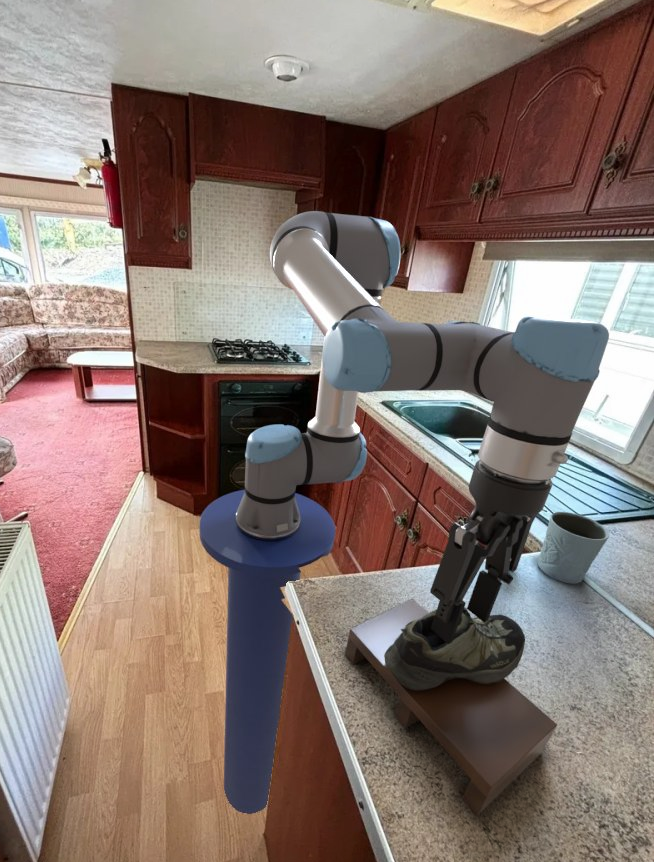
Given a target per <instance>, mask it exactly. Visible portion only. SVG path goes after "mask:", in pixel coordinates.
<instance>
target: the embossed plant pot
mask: <svg viewBox="0 0 654 862" xmlns="http://www.w3.org/2000/svg"><path fill="white" fill-rule="evenodd" d="M609 538H610V532H609V531H608V529H606V527H604V526H603V525H602V524H601V523H600V522H598V521H595V520H594V519H592V518H589V517H587V516H584V515H582V514H578V513H574V512H569V511H556V512H553V513H552V514H550V516H549V520H548V525H547V529H546V532H545V537H544V539H543V542H542V547H541V550H540V554H539V557H538V558H537V565H538V567H539V569H540V570H541V571H542V572H543V573H545V575H547V576H549V577H550V578H552V579H555V580H557V581H559V582H562V583H566V584H575V585H576V584H579V583H581V582H582V581H583V580H584V578H585V577H586V574H587V573H588V571H589V570H590V568H591V566H592V565H593V562H594V561H595V560H596V558H597V556H598V555H599V553H600V552H601V550H602V548H603V547H604V546H605V544H606V542H607V541H608V539H609Z"/></svg>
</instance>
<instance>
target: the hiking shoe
mask: <svg viewBox="0 0 654 862" xmlns="http://www.w3.org/2000/svg"><path fill="white" fill-rule="evenodd" d="M436 611H437V608H436V609H434V610H432V611H430V612H429V614H427V615H425V616H423V617H422V618H421V619H419V620H414V621H411V622H410V623H408V624H407V625H406V627H405V628H403V629H401V631H402V633H401V634H400V636H399V637H398V638H397V639H396V640H395V642H394V644H393V645H391V646H390V647H389V648H388V649H387V651H386V652H385V655H384V657H385V663H386V666H387V668H388V670H389V672H390V673H391V674H392V676H393V677H394V678H395V679H396V680H397V681H398V682H399V683H400V684H402V685H403V686H405V687H407V688H409V689H412V690H417V691H423V690H427V689H431V688H435V687H437V686H438V685H440V684H442V683H443V682H445V681H447V680H450V679H455V678H463V679H467V680H470V681H474V682H477V683H480V684H490V683H496V682H500V681H502V680H503V679H506V678H508V676H510V675H511V674H512V673H513V672H514V671H515V670H516V668H518V666H519V663H520V662H521V659H522V657H523V654H524V650H525V644H526V636H525V633H524V631H523V629H522V627H521V626H520V625H519V624H518V622H517V621H515V620H514V619H512V618H510V617H509V616H506V615H504V614H492V615H491V614H490V616H489V619H488V621H486V622H485V623H484V622H483V621H482V620H480V619H479V618H478V617H477V616H475V617H473V618H472V616H471V614H470V611H469V610H468V609H467V607H464V610H463V613H462V616H461V618H460V621H459V624H458V627H457V630H456V633H455V636H454V639H453V641H452V643H450V644H447V643H446V642H445V641H444V640H443V639H442V638H441V637H440V636H439V635H437V634H436V633H435V632H434V631H433V630H432V629H431V627H432V624H433V620H434V617H435V614H436Z"/></svg>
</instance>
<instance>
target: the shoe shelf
mask: <svg viewBox="0 0 654 862" xmlns="http://www.w3.org/2000/svg"><path fill="white" fill-rule="evenodd" d="M429 613H430V612H429V611H428V610H427V609H425V608H424V607H423V606H422V605H421V604H420V603H419V602H417V601H416V600H415V599H414V598H410V599H409V600H407V601H405V602H402V603H400V604H398V605H396V606H394V607H392V608H390V609H388V610H385V611H384V612H381V613H379V614H378V615H375V616H373V617H371V618H370V619H366V621H363V622H361V623H359V624H357V625H355V626H352V627H351V628H349V632H348V638H347V643H346V648H345V653H344V657H346V659H347V660H348V661H349V662H350V664H351V665H352V666H354V665H356V664H358V663H360V662H362V661H363V660H365V659H366V660H367V662H369V664H371V666H372V667H374V669H375V671H376V672H377V673H378V674H379V675H380V676H381V677H382V678H383V680H384V681H385V682H386V683H387V685H389V686H390V688H391V689H392V690H393V691H394V692H395V693H396V694H397V695H398V697H399V701H398V705H397V706H396V707H397V708H396V711H395V714H394V717H395V719H396V720H397V721H398V722H399V723H400V725H401V726H402V727H403V728H404V730H405V729H406V730H407V729H408V728H409V727H410V726H412V725H413V724H415V723H416V722H418V721H420V722H421V724H423V725H424V726H425V728H426V729H427V730H428V732H429V733H430V734H432V736H433V738H434V739H436V741H437V742H438V743H439V744H440V746H441V747H443V749H444V750H445V751H446V752H447V754H448V755H449V756H450V757H451V758H452V759H453V760H454V761H455V763H456V765H458V766H459V767H460V769H461V770H462V771H463V772H464V773H465V774H466V775H467V776H468V778H469V779H470V781H469V783H468V785H467V787H466V789H465V791H464V794H463V796H462V800H463V801H464V803H465V804H466V806H468V808H469V809H470V810H471V811H472V813H473V814H474V815H475V816H476V817H478V816H479V815H480V814H481V813H482V812H483V811H484V810H485V809H486V808H487V807H488V806H490V804H492V802H493V801H495V799H496V798H498V796H499V795H501V793H502V792H504V791H505V790H506V789H507V788H508V787H509V786H510V785H511V783H513V782H514V781H515V780H516V779H517V778H518V777H519V776H521V774H522V773H523V772H524V771H525V770H526V769H527V768H528V767H530V765H531V764H532V763H533V762H534V761H535V760H536V759H537V758H538V757H539V756H540V755H541V754H542V753H543V751H544V750H545V748H546V746H547V744H548V743H549V741H550V739H551V737H552V736H553V734H554V732H555V730H556V728H557V727H558V724H557V723H556V722H555V721H554V720H553V719H552V718H550V717H549V716H548V715H547V714H546V713H544V711H542V710H541V709H540V708H539V707H538V706H537V705H535V704H534V702H532V701H531V700H530V699H528V697H527V696H525V694H523V693H522V692H521V691H519V690H518V688H516V687H515V686H514V685H513V684H511V683H510V682H509V681H508V680H507V679H506V678H504V679H503V680H502V681H500V682H496V683H490V684H480V683H477V682H474V681H470V680H467V679H463V678H455V679H450V680H447V681H445V682H443V683H442V684H440V685H438V686H437V687H435V688H431V689H427V690H423V691H417V690H412V689H409V688H407V687H405V686H403V685H402V684H400V683H399V682H398V681H397V680H396V679H395V678H394V677H393V676H392V674H391V673H390V672H389V670H388V668H387V666H386V663H385V657H384V655H385V652H386V651H387V649H388V648H389V647H390V646H391V645H393V644H394V642H395V640H396V639H397V638H398V637H399V636H400V634H401V633H402V631H401V629H403V628H405V627H406V625H407V624H408V623H410V622H411V621H414V620H419V619H421V618H422V617H423V616H425V615H427V614H429Z"/></svg>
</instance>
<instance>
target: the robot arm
mask: <svg viewBox="0 0 654 862" xmlns="http://www.w3.org/2000/svg"><path fill="white" fill-rule="evenodd" d="M401 252H402V251H401V243H400V238H399V235H398V233H397V230H396V228H395V227H394V225H392V224H391V222H389V221H387V220H386V219H385V220H384V219H380V218H375V217H372V216H364V215H363V216H362V215H354V214H345V213H344V214H342V213H334V212H324V211H321V210H320V211H319V210H311V211H305V212H301V213H298V214H296V215H294V216H292V217H290V218H288V219H287V220H286V221H285V222H283V223H282V224H281V225H280V226H279V228H277V230H276V232H275V234H274V235H273V237H272V240H271V243H270V248H269V261H270V265H271V270H272V271H273V273H274V274H275V276H276V278H277V280H278V281H279V282H280V283H281V284H282V285H283V286H285V287H286V288H288V289H289V290H290V289H291V290H293V292H294V293H295V295H296V296H297V298H298V299H299V301H300V302H301V304H302V306H303V307H304V308H305V310H306V311H307V313H308V314H309V315H310V317H311V319H312V320H313V322H314V323H315V324H316V326H317V328H318V330H320V332H321V333H322V335H323V343H322V344H323V345H322V354H321V364H320V372H319V382H318V391H317V400H316V410H315V416H314V417H313V418H312V419H310V420H309V421H308V423H307V429H306V432H302V433H301V431H300V429H299V428H298V427H295V426H293V425H289V424H287V425H284V424H281V423H279V424H269V425H264V426H262V427H259V428H257V429H255V430H254V431H253V432H251V433H250V434H249V436H248V437H247V441H246V449H245V452H244V457H245V469H244V470H245V473H244V490H245V493H244V495H243V498H242V500H241V503H240V505H239V507H238V510H237V513H236V525H237V528H238V529H239V530H240V531H241V532H242V533H243V534H244V535H246V536H248V537H250V538H253V539H256V540H260V541H280V540H284V539H287V538H289V537H291V536H293V535H294V534H295V533H296V532H297V531H298V530H299V527H300V513H299V509H298V505H297V502H296V498H295V493H296V489H297V486H303V485H317V484H330V483H334V484H340V483H343V482H349V481H352V480H355V479H356V478H358V477H359V476H360V475H361V473H362V472H363V470H364V468H365V466H366V462H367V457H368V449H367V448H366V447H367V440H366V438H365V436H364V435H363V434H362V433H361V432H360V431H361V428H360V426H359V425H358V424H357V422H356V421H355V420H356V412H357V405H358V400H359V393H363V394H366V393H367V394H368V393H373V392H374V393H376V392H402V391H403V392H405V391H407V392H408V391H410V392H411V391H414V392H415V391H419V392H424V391H425V392H427V391H428V392H429V391H433V392H434V391H437V392H438V391H461V392H462V391H463V392H467V393H470V394H472V395H475V396H478V397H479V398H481V399H485V400H486V401H489V402H492V403H493V404H492V407H491V411H490V414H489V417H488V421H487V425H486V428H485V432H484V434H483V437H482V440H481V444H480V447H479V449H478V453H477V457H478V460H477V461H476V462H475V464H474V467H473V470H472V474H471V476H470V480H469V484H468V492H469V493H470V496H472V498H473V500H474V502H475V506H474V507H473V509H472V511H471V513H470V514H469V516H468V522H466V523H465V524H463V525H461V524H459V523H457V522H453V523H452V524H451V525H450V527H449V529H448V540H447V543H446V546H445V549H444V552H443V555H442V557H441V559H440V562H439V565H438V568H437V571H436V574H435V576H434V579H433V582H432V584H431V587H430V590H429V593H430V594H431V595H433V597H435V598H436V599H438V605H437V608H436V609H437V611H436V614H435V617H434V620H433V624H432V627H431V629H432V630H433V631H434V632H435V633H436V634H437V635H439V636H440V637H441V638H442V639H443V640H444V641H445V642H446V643H447V644H450V643H452V641H453V639H454V636H455V633H456V630H457V627H458V624H459V621H460V618H461V616H462V613H463V610H464V607H465V606H466V604H467V603H466V602H465V601H464V599H465V597H466V594H467V593H468V591H469V590H470V587H471V585H472V583H473V582H474V580H475V579H476V581H475V584H474V587H473V589H472V592H471V595H470V598H469V601H468V604H467V606H466V607H465V608H466V609H467V610H468V612H469V613H471V614H473V615H474V616H475V617H478V618H479V619H480V620H482V621H483V622H484V623H485V622H486V621H488V619H489V616H491V614H492V611H493V608H494V606H495V604H496V600H497V598H498V595H499V593H500V590H501V588H502V585H503V582H504V583H505V584H507V585H510V584H512V582H513V581H514V579H515V578H514V577H513V576H512V575H511V574H509V573H510V572H511V573H514V572H516V570H517V569H518V567H519V564H520V561H521V557H522V555H523V551H524V548H525V547H526V542H527V541H528V540H527V539H528V537H529V534H530V531H531V528H532V525H533V523H534V522H535V519H536V517H537V515H538V514H540V513H541V512H542V511H543V509H544V507H545V505H546V502H547V501H548V498H549V496H550V495H549V494H550V492H551V490H552V487H553V481H552V479H554V478H555V477H556V475H557V473H558V471H559V468H560V466H561V465H565V464H567V462H568V461H569V457H568V455H567V454H565V453H566V450H567V448H568V445H569V443H570V441H571V438H572V436H573V431H574V429H575V426H576V425H577V422H578V419H579V417H580V414H581V412H582V410H583V408H584V406H585V404H586V401H587V399H588V397H589V395H590V392H591V390H592V388H593V386H594V383H595V382H596V380H597V379H598V378H599V375H600V367H601V364H602V360H603V358H604V355H605V352H606V348H607V345H608V342H609V339H610V338H609V337H610V332H609V329H608V328H607V327H606V326H605V325H604V324H601V323H599V322H596V321H590V320H585V319H577V318H576V319H573V318H567V317H561V316H560V317H559V316H549V315H526V316H524V317H522V318H521V319H520V320H519V321H518V324H517V325H516V328H515V331H509V330H504V329H501V328H495V327H491V326H486V325H483V324H480V323H478V322H474V321H461V320H460V321H458V320H452V321H447V322H445V323H428V322H411V321H409V322H408V321H399V320H396V319H395V318H394V317H393V316H392V315H391V314H390V313H389V312H387V311H386V310H385V309H384V307H383V306H382V305H380V304H379V300H381V299H382V294H383V290H384V289H386V288H388V287H390V286H391V285H392V284H393V283H394V281H395V277H397V275H398V273H399V269H400V266H401V265H400V264H401V255H402V253H401ZM510 559H511V560H510ZM484 562H485V563H484ZM483 563H484V564H485V565H484V569H482V570H480V569H481V567H482V566H483ZM485 570H486V571H485ZM477 574H478V575H477ZM476 576H477V577H476Z"/></svg>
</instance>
